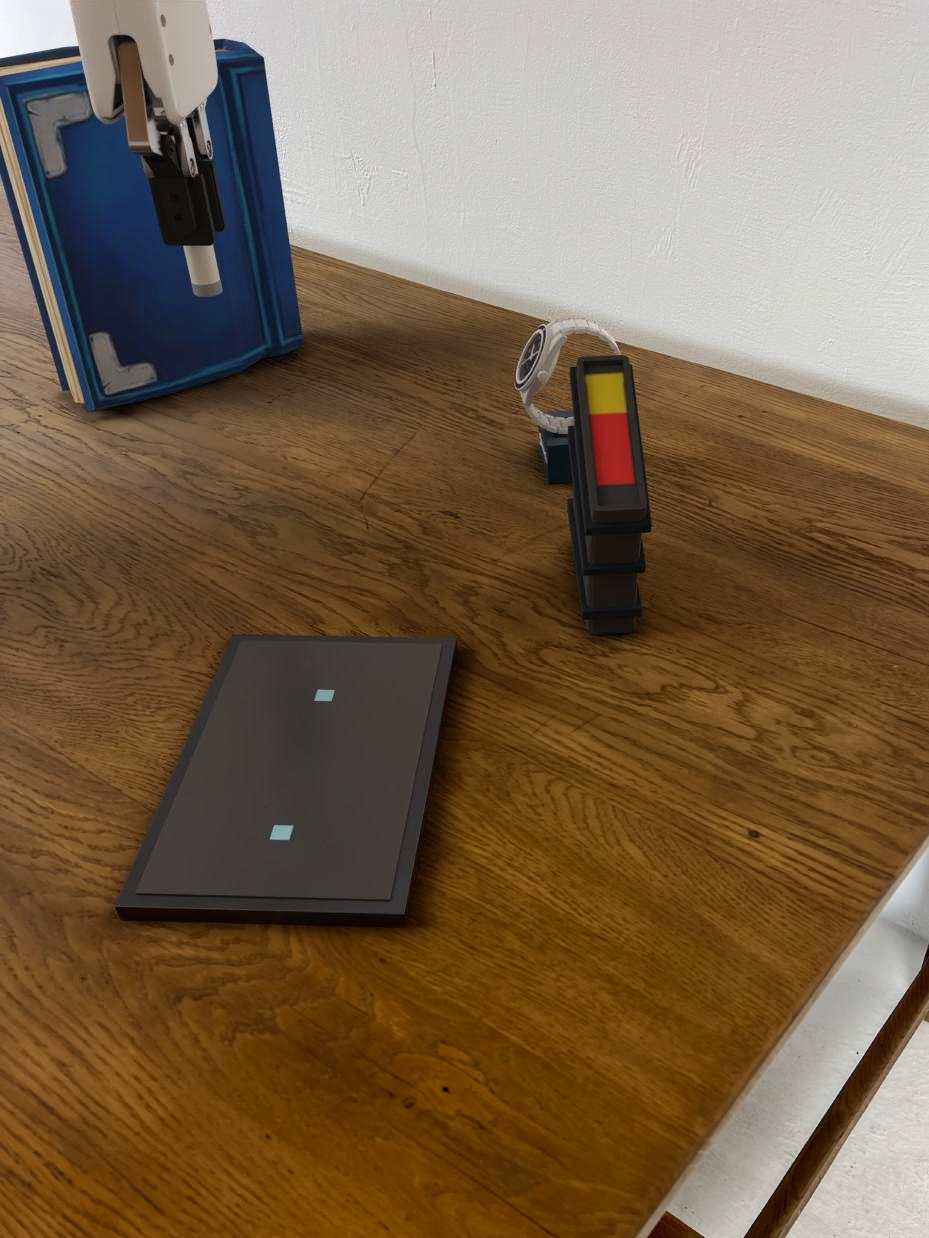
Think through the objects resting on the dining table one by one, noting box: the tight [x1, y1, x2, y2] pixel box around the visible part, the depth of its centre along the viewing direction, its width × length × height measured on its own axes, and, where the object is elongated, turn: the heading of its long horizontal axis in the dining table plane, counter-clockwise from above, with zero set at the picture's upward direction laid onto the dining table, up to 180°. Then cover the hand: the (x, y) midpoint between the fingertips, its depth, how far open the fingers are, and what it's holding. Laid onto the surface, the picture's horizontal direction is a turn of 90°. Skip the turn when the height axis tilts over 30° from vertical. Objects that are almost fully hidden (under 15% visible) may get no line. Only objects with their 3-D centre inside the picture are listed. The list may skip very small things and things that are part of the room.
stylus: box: [171, 136, 222, 297], centre depth 71 cm, size 2×2×9 cm
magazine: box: [566, 354, 653, 636], centre depth 72 cm, size 4×13×15 cm, turn 5°
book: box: [0, 38, 305, 414], centre depth 93 cm, size 22×7×25 cm, turn 130°
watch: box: [513, 316, 622, 485], centre depth 85 cm, size 6×8×11 cm
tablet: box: [114, 633, 459, 928], centre depth 63 cm, size 14×22×1 cm, turn 178°
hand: (195, 235), depth 72 cm, fingers closed on stylus, 1 cm apart
